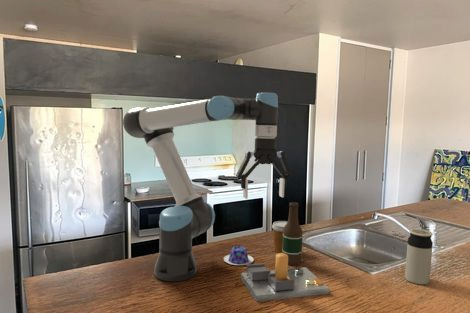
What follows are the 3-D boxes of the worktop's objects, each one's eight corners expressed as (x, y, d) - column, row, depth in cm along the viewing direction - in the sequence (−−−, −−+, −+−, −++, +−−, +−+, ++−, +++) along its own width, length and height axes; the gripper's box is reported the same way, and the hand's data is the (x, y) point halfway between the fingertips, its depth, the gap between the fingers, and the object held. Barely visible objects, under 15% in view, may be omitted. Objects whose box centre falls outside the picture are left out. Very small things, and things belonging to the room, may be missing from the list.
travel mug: (419, 286, 128) (423, 236, 126) (399, 277, 135) (403, 229, 133) (434, 282, 132) (438, 233, 130) (414, 274, 139) (418, 227, 137)
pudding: (222, 266, 142) (223, 253, 141) (224, 254, 154) (224, 242, 153) (254, 267, 142) (254, 254, 141) (253, 255, 154) (253, 243, 153)
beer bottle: (302, 259, 150) (305, 201, 147) (299, 267, 142) (302, 206, 140) (283, 257, 152) (286, 199, 150) (279, 263, 145) (282, 203, 142)
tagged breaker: (275, 290, 117) (275, 281, 117) (268, 281, 124) (268, 273, 123) (293, 288, 119) (294, 280, 119) (285, 280, 125) (286, 271, 125)
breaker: (252, 280, 124) (252, 272, 124) (246, 272, 130) (246, 264, 130) (270, 278, 126) (270, 270, 126) (263, 271, 132) (264, 263, 132)
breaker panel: (256, 301, 115) (256, 292, 114) (240, 278, 131) (241, 270, 131) (328, 293, 121) (328, 284, 121) (305, 272, 138) (305, 264, 137)
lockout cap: (273, 276, 122) (274, 253, 122) (284, 275, 123) (285, 252, 123) (277, 282, 119) (278, 258, 118) (289, 281, 120) (290, 257, 119)
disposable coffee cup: (292, 247, 163) (293, 221, 162) (293, 255, 154) (295, 227, 153) (270, 246, 164) (272, 220, 163) (270, 254, 155) (272, 226, 154)
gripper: (234, 137, 122) (232, 200, 124) (303, 138, 129) (300, 198, 131) (228, 136, 129) (227, 196, 132) (294, 137, 136) (291, 193, 138)
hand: (263, 197), depth 131 cm, fingers open, 13 cm apart
